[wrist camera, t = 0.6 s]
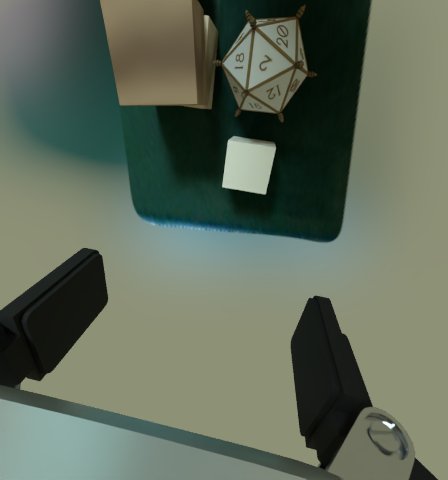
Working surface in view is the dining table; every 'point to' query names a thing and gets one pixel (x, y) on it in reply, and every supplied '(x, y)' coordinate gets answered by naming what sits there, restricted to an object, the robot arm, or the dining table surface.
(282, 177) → the dining table surface
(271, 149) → the ivory cube
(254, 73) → the game die
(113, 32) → the walnut block
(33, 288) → the robot arm
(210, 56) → the oak block
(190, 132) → the dining table surface
